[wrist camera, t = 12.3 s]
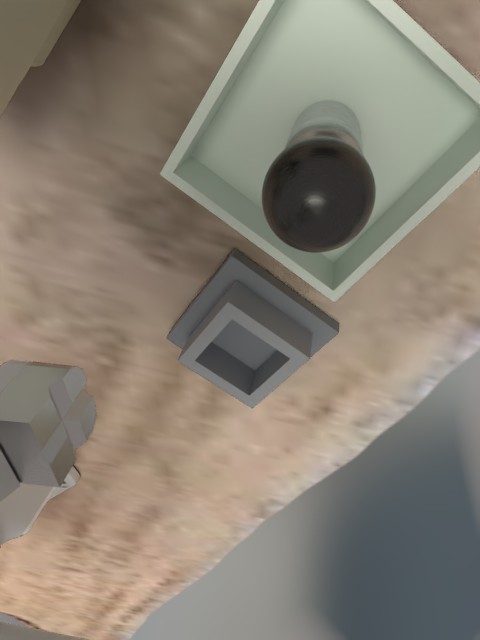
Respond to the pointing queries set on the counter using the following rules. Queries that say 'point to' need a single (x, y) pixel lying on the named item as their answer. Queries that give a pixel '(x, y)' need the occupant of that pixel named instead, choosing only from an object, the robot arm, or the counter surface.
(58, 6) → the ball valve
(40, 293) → the counter surface
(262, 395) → the socket block
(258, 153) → the bin
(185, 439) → the counter surface
